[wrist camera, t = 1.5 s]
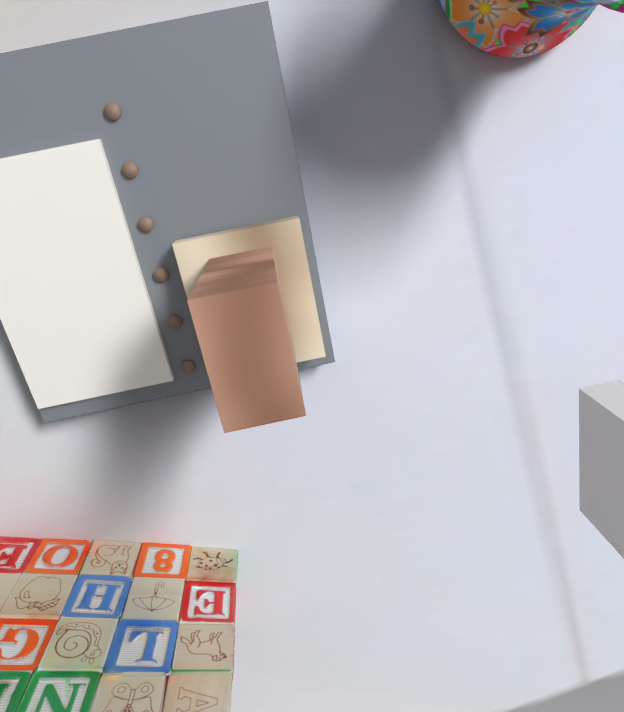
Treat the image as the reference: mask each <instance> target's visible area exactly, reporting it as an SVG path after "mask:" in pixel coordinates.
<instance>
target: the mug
mask: <svg viewBox="0 0 624 712" xmlns="http://www.w3.org/2000/svg"><path fill="white" fill-rule="evenodd" d="M439 2H440V4H441V6H442V9H443V11H444V13H445V15H446V16H447V18H448V20H449V21H450V23H451V24H452V25H453V27H454V28H455V29H456V30H457V32H458V33H459V34H460V35H461V36H462V37H463V38H464V39H466V40H467V41H468V42H469V43H471V44H472V45H473V46H475V47H477V48H479V49H480V50H482V51H485V52H487V53H490V54H493V55H497V56H502V57H513V58H517V57H526V56H532V55H535V54H539V53H542V52H544V51H547V50H549V49H551V48H553V47H555V46H557V45H558V44H560V43H561V42H563V41H564V40H566V39H567V38H568V37H569V36H571V35H572V34H573V33H574V32H575V31H576V30H577V29H578V28H579V27H580V26H581V25H582V24H583V23H584V22H585V21H586V20H587V18H588V17H589V16H590V15H591V13H592V12H593V11H594V9H595V8H596V6H597V5H598V4H600V5H602V6H604V7H606V8H609V9H612V10H615V11H618V12H621V13H624V0H439Z"/></svg>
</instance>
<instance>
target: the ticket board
mask: <svg viewBox="0 0 624 712" xmlns="http://www.w3.org/2000/svg"><path fill="white" fill-rule="evenodd" d="M294 216H298V217H299V219H300V224H301V229H302V235H303V240H304V245H305V250H306V255H307V261H308V266H309V271H310V276H311V281H312V287H313V292H314V297H315V302H316V308H317V313H318V318H319V323H320V328H321V334H322V339H323V344H324V349H325V354H326V357H321V358H316V359H312V360H307V361H302V362H297V368H298V370H299V369H304V368H309V367H313V366H318V365H323V364H328V363H333V362H335V360H334V354H333V349H332V343H331V338H330V333H329V327H328V322H327V317H326V311H325V306H324V300H323V295H322V290H321V284H320V279H319V274H318V268H317V263H316V257H315V252H314V247H313V241H312V236H311V231H310V225H309V220H308V214H307V209H306V204H305V198H304V193H303V188H302V182H301V177H300V171H299V166H298V161H297V155H296V150H295V145H294V139H293V134H292V128H291V123H290V118H289V112H288V107H287V102H286V96H285V91H284V85H283V80H282V75H281V69H280V64H279V59H278V53H277V48H276V42H275V37H274V32H273V26H272V21H271V16H270V10H269V5H268V1H265V2H260V3H255V4H250V5H245V6H240V7H235V8H230V9H225V10H220V11H214V12H209V13H204V14H199V15H194V16H189V17H184V18H179V19H174V20H169V21H163V22H158V23H153V24H148V25H143V26H138V27H133V28H128V29H123V30H118V31H112V32H107V33H102V34H97V35H92V36H87V37H82V38H77V39H72V40H67V41H61V42H56V43H51V44H46V45H41V46H36V47H31V48H26V49H21V50H16V51H10V52H5V53H0V319H1V322H2V324H3V327H4V329H5V331H6V334H7V336H8V339H9V341H10V343H11V346H12V348H13V350H14V353H15V355H16V358H17V360H18V362H19V365H20V367H21V370H22V372H23V374H24V377H25V379H26V382H27V384H28V386H29V389H30V391H31V393H32V396H33V398H34V401H35V403H36V405H37V408H38V409H39V412H40V414H41V417H42V419H43V421H44V423H47V422H52V421H56V420H61V419H66V418H71V417H75V416H80V415H85V414H90V413H94V412H99V411H104V410H109V409H113V408H118V407H123V406H128V405H133V404H137V403H142V402H147V401H152V400H156V399H161V398H166V397H171V396H175V395H180V394H185V393H190V392H194V391H199V390H204V389H209V388H212V387H211V384H210V380H209V377H208V373H207V370H206V366H205V362H204V359H203V355H202V352H201V348H200V345H199V341H198V338H197V334H196V331H195V327H194V323H193V320H192V316H191V313H190V309H189V306H188V302H187V300H188V299H187V296H186V292H185V289H184V285H183V281H182V278H181V274H180V271H179V267H178V264H177V260H176V257H175V253H174V249H173V246H172V244H173V243H174V242H175V241H176V240H181V239H186V238H191V237H196V236H201V235H205V234H210V233H215V232H220V231H225V230H230V229H235V228H240V227H245V226H249V225H254V224H259V223H264V222H269V221H274V220H279V219H284V218H289V217H294Z"/></svg>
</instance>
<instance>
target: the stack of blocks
mask: <svg viewBox="0 0 624 712" xmlns="http://www.w3.org/2000/svg"><path fill="white" fill-rule="evenodd" d="M237 561H238V550H237V549H224V548H209V547H193V546H190V545H177V544H160V543H141V542H131V541H115V540H93V541H87V540H66V539H46V538H45V539H34V538H18V537H0V712H230V706H231V689H232V679H233V669H234V642H235V608H236V579H237Z"/></svg>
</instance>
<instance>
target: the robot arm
mask: <svg viewBox="0 0 624 712" xmlns="http://www.w3.org/2000/svg"><path fill="white" fill-rule="evenodd" d="M579 470H580V511H581V512H582V513H583V514H584V515H585V516H586V517H587V518H588V519H589V521H590V522H591V523H592V524H593V525H594V526H595V527H596V528H597V529H598V531H599V532H600V533H601V534H602V535H603V536H604V537H605V538H606V539H607V541H608V542H609V543H610V544H611V545H612V546H613V547H614V548H615V549H616V551H617V552H618V553H619V554H620V555H621V556H622V557H623V558H624V383H623V382H621V381H620V380H618V381H613V382H609V383H604V384H599V385H594V386H589V387H585V388H580V389H579Z"/></svg>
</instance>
